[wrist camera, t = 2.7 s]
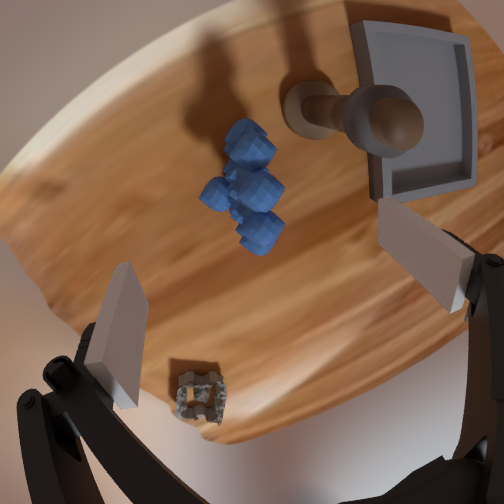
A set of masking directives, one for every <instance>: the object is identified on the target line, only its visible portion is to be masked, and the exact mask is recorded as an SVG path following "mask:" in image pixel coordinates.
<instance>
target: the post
mask: <svg viewBox="0 0 504 504" xmlns="http://www.w3.org/2000/svg"><path fill="white" fill-rule="evenodd" d="M282 115H283V118H284V121H285V123H286V124H287V126H288V127H289V128H290V129H291V130H292V131H293V132H294V133H296V134H297V135H300V136H302V137H305V138H308V139H312V140H320V139H325V138H327V137H329V136H331V135H332V134H334V133H335V132H336V131H340V132H344V133H346V134H347V136H348V138H349V139H350V141H351V142H352V143H353V144H354V145H355V146H357V147H358V148H360V149H361V150H364V151H366V152H369V153H372V154H374V155H377V156H379V157H382V158H396V157H399V156H401V155H403V154H404V153H405V152H407V151H408V150H410V149H412V148H414V147H415V146H416V145H417V144H418V143H419V142H420V140H421V138H422V135H423V132H424V120H423V116H422V113H421V111H420V109H419V108H418V107H417V105H416V104H414V103H413V101H412V99H411V98H410V97H409V95H408V94H407V93H406V92H404V91H403V90H402V89H400V88H398V87H396V86H392V85H364V86H361V87H359V88H357V89H355V90H354V91H353V92H352V93H351V94H350V95H339V93H338V92H337V90H336V89H335V88H334V87H332V86H331V85H329V84H328V83H326V82H323V81H319V80H309V81H303V82H300V83H297V84H295V85H294V86H292V87H291V88H290V89H289V90H288V91H287V93H286V94H285V96H284V99H283V102H282Z"/></svg>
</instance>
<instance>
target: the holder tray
mask: <svg viewBox="0 0 504 504" xmlns="http://www.w3.org/2000/svg"><path fill="white" fill-rule="evenodd" d="M349 27H350V32H351V37H352V42H353V47H354V52H355V58H356V63H357V69H358V76H359V82H360V87H361V86H364V85H392V86H396V87H398V88H400V89H402V90H403V91H404V92H406V93H407V94H408V95H409V97H410V98H411V99H412V101H413V103H414V104H416V105H417V107H418V108H419V109H420V111H421V113H422V116H423V120H424V132H423V135H422V138H421V140H420V142H419V143H418V144H417V145H416V146H415V147H414V148H412V149H410V150H408V151H407V152H405V153H404V154H403V155H401V156H399V157H396V158H382V157H379V156H377V155H374V154H372V153H369V152H368V165H369V182H370V198H371V199H372V200H374V201H375V202H377V203H378V199H381V198H385V197H389V196H390V197H391V198H393V199H395V200H396V201H398V202H400V203H403V202H408V201H412V200H417V199H421V198H425V197H430V196H434V195H438V194H443V193H447V192H452V191H456V190H461V189H465V188H470V187H474V186H476V178H477V157H478V121H477V101H476V88H475V78H474V69H473V61H472V54H471V48H470V42H469V37H467V36H463V35H459V34H455V33H450V32H446V31H441V30H436V29H431V28H425V27H419V26H413V25H406V24H398V23H390V22H379V21H367V20H362V21H359V22H357V23H354V24H351V25H349Z"/></svg>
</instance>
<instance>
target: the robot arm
mask: <svg viewBox="0 0 504 504" xmlns="http://www.w3.org/2000/svg"><path fill="white" fill-rule="evenodd" d="M378 244H379V245H380V246H381V247H382V248H383V249H384V250H385V251H386V252H388V253H389V254H390V255H391V256H392V257H393V258H394V259H395V260H396V261H397V262H398V263H399V264H400V265H402V266H403V267H404V268H405V269H406V270H407V271H408V272H409V273H410V274H411V275H412V276H413V277H414V278H415V279H416V280H417V281H418V282H419V283H420V284H421V285H422V286H423V287H424V288H425V289H426V290H427V291H428V292H429V293H430V294H431V295H432V296H433V297H434V298H435V299H436V300H437V301H438V302H439V303H440V304H441V305H442V306H443V307H444V308H445V309H446V310H447V311H448V312H449V313H450V314H451V313H453V312H455V311H457V310H459V309H461V308H462V306H463V302H464V299H465V297H466V298H467V299H468V300H469V301H470V302H469V306H468V309H467V312H466V315H465V319H464V321H466V320H467V318H468V322H469V349H468V350H469V351H468V374H467V387H466V398H465V407H464V415H463V422H462V429H461V435H460V440H459V443H458V445H457V447H456V450H455V452H454V454H453V457H452V459H450V460H445V459H444V458H443V456H440V457H438V458H437V459H435V460H433V461H431V462H430V463H428V464H426V465H424V466H423V467H421V468H419V469H417V470H415V471H413V472H412V473H411V474H409V475H408V476H407V477H406V478H405V479H403V480H402V481H401V482H400V483H398V484H397V485H396V486H395V487H393V488H392V489H391V490H389V491H388V492H387V493H385V494H384V495H381V496H378V497H372V498H367V499H361V500H355V501H348V502H341V503H338V504H504V259H503V258H502V257H500V256H498V255H495V254H484V255H482V254H480V253H479V252H478V251H476V250H475V249H474V248H472V247H471V246H470V245H468V244H467V243H464V241H463V240H461V239H459V238H458V237H457V236H455V235H454V234H452V233H451V232H448V231H446V230H443V229H440V228H438V227H437V226H435V225H434V224H432V223H431V222H429V221H428V220H426V219H425V218H423V217H422V216H420V215H419V214H417V213H415V212H414V211H412V210H411V209H409V208H408V207H406V206H404V205H403V204H401V203H400V202H398V201H396V200H395V199H393V198H391V197H390V196H389V197H385V198H381V199H378ZM148 309H149V303H148V301H147V299H146V296H145V294H144V292H143V290H142V288H141V285H140V283H139V281H138V279H137V276H136V274H135V272H134V270H133V267H132V265H131V262H130V261H129V262H125V263H121V264H118V265H116V267H115V270H114V273H113V275H112V278H111V281H110V283H109V286H108V289H107V292H106V295H105V297H104V300H103V303H102V306H101V309H100V312H99V315H98V318H97V321H96V322H94V323H90V324H89V325H88V326H87V328H86V329H85V330H84V332H83V334H82V337H81V340H80V343H79V346H78V350H77V353H76V356H75V359H74V362H72V361H71V359H70V358H69V357H67V356H59V357H56V358H54V359H52V360H51V361H50V362H49V363H48V364H47V365H46V367H45V368H44V371H43V379H44V381H45V382H46V383H47V384H48V385H49V386H50V387H51V389H52V390H53V392H50V393H48V394H45V395H42V394H40V392H39V391H38V390H36V389H29V390H27V391H25V392H24V393H23V394H22V395H21V396H20V397H19V399H18V402H17V420H18V430H19V438H20V446H21V452H22V459H23V464H24V470H25V475H26V480H27V484H28V489H29V493H30V497H31V501H32V504H105V503H104V501H103V498H102V496H101V494H100V491H99V489H98V487H97V484H96V482H95V480H94V477H93V474H92V471H91V469H90V466H89V463H88V461H87V458H86V455H85V452H84V449H83V446H82V443H81V440H80V436H82V438H83V439H84V441H85V442H86V444H87V445H88V447H89V448H90V450H91V451H92V452H93V454H94V455H95V457H96V458H97V459H98V461H99V462H100V464H101V465H102V466H103V468H104V469H105V470H106V471H107V473H108V474H109V475H110V477H111V478H112V479H113V480H114V482H115V483H116V484H117V485H118V486H119V488H120V489H121V490H122V491H123V493H124V494H125V495H126V496H127V497H128V498H129V499H130V501H131V502H132V503H133V504H210V503H208V502H207V501H206V500H205V499H203V498H202V497H201V496H200V495H198V494H197V493H196V492H195V491H193V490H192V489H191V488H190V487H189V486H188V485H187V484H185V483H184V482H183V481H182V480H181V479H180V478H178V477H177V476H176V475H175V474H174V473H173V472H172V471H171V470H170V469H168V468H167V467H166V466H165V465H164V464H163V463H162V462H161V461H160V460H159V459H158V458H157V457H156V456H155V455H154V454H153V453H152V452H151V451H150V450H149V449H148V448H147V447H146V446H145V445H144V444H143V443H142V442H141V441H140V440H139V439H138V438H137V436H135V434H134V433H133V432H132V431H131V430H130V429H129V428H128V427H127V426H126V424H125V423H124V422H123V421H122V420H121V419H120V418H119V417H118V415H117V414H116V413H115V412H114V411H113V402H115V403H116V405H117V406H118V407H119V408H120V409H128V408H136V407H138V398H139V397H138V396H139V385H140V375H141V365H142V355H143V347H144V338H145V331H146V323H147V316H148Z"/></svg>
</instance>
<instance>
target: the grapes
mask: <svg viewBox="0 0 504 504" xmlns="http://www.w3.org/2000/svg"><path fill="white" fill-rule="evenodd" d="M266 136H267V133H266V132H265V131H264V130H263V129H262V128H261V127H260V126H259V125H258V124H257V123H256V122H254V121H253V120H250V119H248V118H244V119H241V120H239V121H236V123H235V124H234V125H233V126H232V127H231V129H230V130H229V132H228V133H227V135H226V137H225V139H224V141H225V142H226V143H227V144H226V146H225V148H224V149H223V151H224V152H225V153H226V154H227V155H228V156H229V157H230V158H231V159H230V160H229V161H228V162H227V164H226V165H225V167H224V168H223V170H224V171H223V174H225V177H224V178H222V177H214V178H213V179H211V180H210V181H209V182H208V183H207V185H206V186H205V188H204V189H203V191H202V193H201V195H200V197H199V199H200V200H201V201H202V202H203V203H204V204H206V205H207V206H208V207H210V208H211V209H213V210H214V211H219V212H225V211H226V210H227V209H228V208H229V209H230V211H229V213H230V214H231V215H232V216H231V218H232V219H234V220H235V221H237V222H238V223H239V224H238V226H237V228H236V230H235V231H237V232H238V233H239V234H240V235H241V236H242V238H241V240H240V242H239V243H240V244H242V245H243V246H244V247H245V248H246V249H248V250H249V251H250V252H252V253H253V254H255V255H260V256H262V255H265V254H267V253H268V252H269V251H270V250H271V249H272V247H273V246H274V244H275V243H276V241H277V239H278V237H279V235H280V233H281V231H282V230H283V228H284V225H285V223H284V222H283V221H282V220H281V219H280V218H279V217H278V216H277V215H276V214H275V213H273V212H272V211H271V210H270V209H272V208H273V207H274V206H275V204H276V203H277V202H278V200H279V198H280V197H281V195H282V193H283V191H284V189H285V187H284V186H283V185H282V184H281V183H280V182H279V181H278V180H277V179H276V178H275V177H274V176H273V175H271V174H269V173H268V172H269V170H268V169H267V168H266V166H267V165H268V164H269V163H270V161H271V159H272V158H273V156H274V154H275V153H276V151H277V149H276V147H275V146H274V145H273V144H272V143H271V142H270V141H269V140H268V139H267V138H266Z"/></svg>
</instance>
